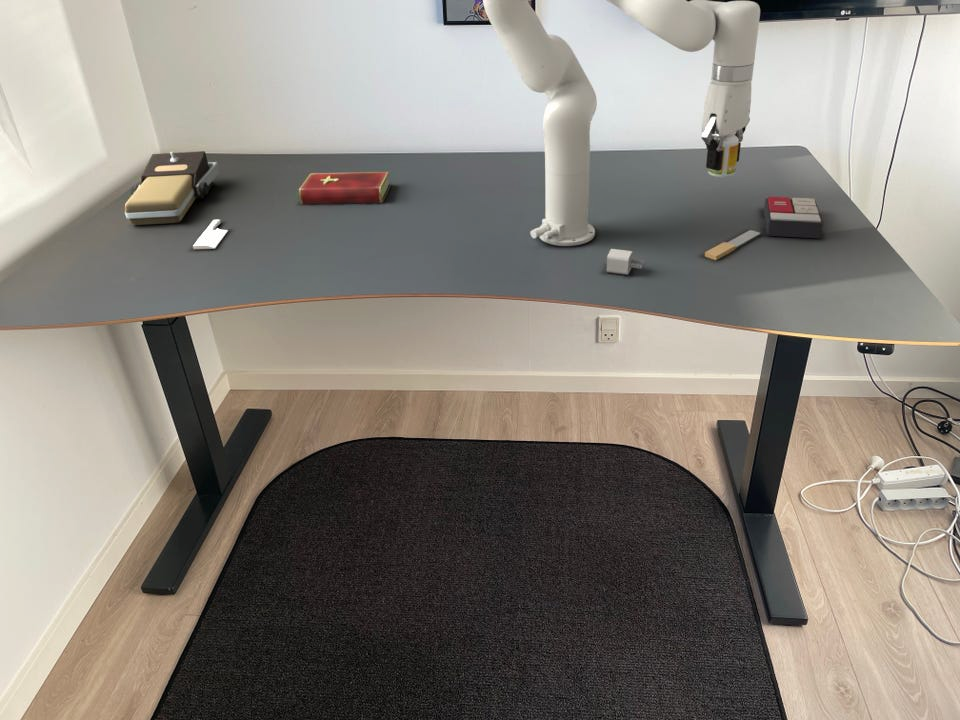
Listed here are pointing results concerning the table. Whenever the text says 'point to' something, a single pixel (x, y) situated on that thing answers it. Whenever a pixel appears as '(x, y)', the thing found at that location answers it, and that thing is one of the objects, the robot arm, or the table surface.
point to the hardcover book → (344, 188)
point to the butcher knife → (210, 237)
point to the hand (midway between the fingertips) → (722, 164)
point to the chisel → (731, 245)
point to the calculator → (792, 217)
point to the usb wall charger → (621, 262)
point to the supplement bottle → (727, 156)
